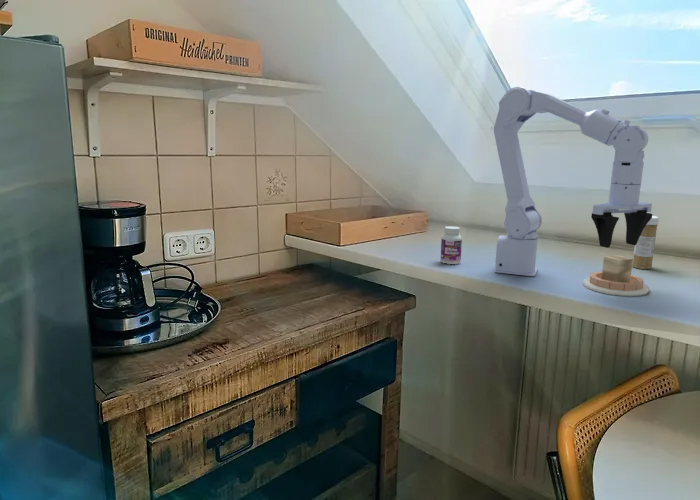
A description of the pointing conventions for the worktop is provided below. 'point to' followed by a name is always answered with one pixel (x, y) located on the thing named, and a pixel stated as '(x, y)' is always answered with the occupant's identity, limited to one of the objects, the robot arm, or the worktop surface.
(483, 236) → the worktop surface
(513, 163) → the robot arm
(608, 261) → the beige wooden block
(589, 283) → the collar dish
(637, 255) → the sprinkles bottle
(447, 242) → the pill bottle
